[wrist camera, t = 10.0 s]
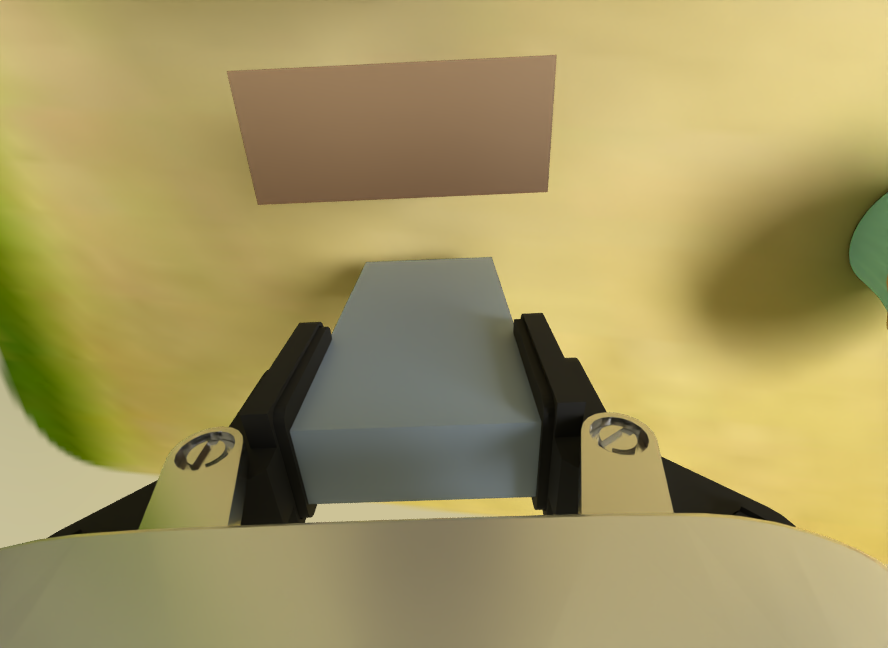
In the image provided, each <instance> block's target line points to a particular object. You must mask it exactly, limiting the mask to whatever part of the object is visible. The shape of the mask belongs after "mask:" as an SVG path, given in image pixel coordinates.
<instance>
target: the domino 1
mask: <svg viewBox="0 0 888 648" xmlns="http://www.w3.org/2000/svg"><path fill="white" fill-rule="evenodd" d="M555 71H556V55H547V56H527V57H506V58H486V59H466V60H445V61H425V62H404V63H384V64H364V65H343V66H323V67H303V68H282V69H262V70H241V71H227V74H228V79H229V83H230V87H231V91H232V96H233V100H234V104H235V108H236V113H237V117H238V121H239V126H240V130H241V134H242V138H243V143H244V147H245V151H246V155H247V160H248V164H249V168H250V173H251V177H252V181H253V185H254V190H255V194H256V198H257V202H258V205H264V204H286V203H309V202H332V201H354V200H377V199H399V198H422V197H445V196H467V195H490V194H512V193H535V192H548V179H549V163H550V148H551V132H552V117H553V101H554V86H555Z"/></svg>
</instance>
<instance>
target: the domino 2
mask: <svg viewBox="0 0 888 648" xmlns="http://www.w3.org/2000/svg"><path fill="white" fill-rule="evenodd" d="M513 327H514V323H513V320H512V317H511V314H510V311H509V308H508V305H507V302H506V299H505V296H504V293H503V290H502V287H501V284H500V281H499V278H498V275H497V272H496V269H495V266H494V263H493V260H492V257H483V258H458V259H433V260H408V261H383V262H366V264H365V266H364V268H363V270H362V272H361V274H360V276H359V278H358V280H357V282H356V285H355V287H354V289H353V291H352V293H351V295H350V297H349V299H348V301H347V303H346V305H345V308H344V310H343V312H342V314H341V316H340V318H339V320H338V322H337V324H336V326H335V328H334V331H333V333H332V335H331V336H332V341H331V343H330V345H329V348H328V350H327V352H326V354H325V356H324V358H323V361H322V363H321V365H320V367H319V369H318V371H317V373H316V376H315V378H314V380H313V382H312V384H311V386H310V389H309V391H308V393H307V395H306V397H305V399H304V401H303V404H302V406H301V408H300V410H299V412H298V414H297V417H296V419H295V421H294V423H293V425H292V427H291V429H290V434H291V438H292V442H293V445H294V449H295V453H296V457H297V461H298V464H299V468H300V472H301V476H302V480H303V484H304V487H305V491H306V495H307V499H308V503H309V504H327V503H328V504H329V503H360V502H390V501H421V500H452V499H482V498H513V497H536V487H537V474H538V461H539V448H540V435H541V419H540V416H539V413H538V410H537V407H536V403H535V400H534V397H533V394H532V391H531V388H530V384H529V381H528V378H527V375H526V372H525V368H524V365H523V362H522V359H521V356H520V353H519V349H518V346H517V343H516V340H515V337H514V334H513Z"/></svg>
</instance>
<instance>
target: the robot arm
mask: <svg viewBox="0 0 888 648" xmlns="http://www.w3.org/2000/svg"><path fill="white" fill-rule="evenodd" d="M513 334H514V337H515V340H516V343H517V346H518V349H519V353H520V356H521V359H522V362H523V365H524V368H525V372H526V375H527V378H528V381H529V384H530V388H531V391H532V394H533V397H534V400H535V403H536V407H537V410H538V413H539V416H540V419H541V435H540V448H539V461H538V474H537V487H536V497H532V501H533V506H534V508H535V510H543V514H544V515H534V516H499V517H463V518H433V519H405V520H404V519H403V520H373V521H346V522H316V523H305V520H306V518H308V517H312V516H313V515H314V512H315V509H316V506H317V504H309V503H308V499H307V495H306V491H305V487H304V484H303V480H302V476H301V472H300V468H299V464H298V461H297V457H296V453H295V449H294V445H293V442H292V438H291V434H290V429H291V427H292V425H293V423H294V421H295V419H296V417H297V414H298V412H299V410H300V408H301V406H302V404H303V401H304V399H305V397H306V395H307V393H308V391H309V389H310V386H311V384H312V382H313V380H314V378H315V376H316V373H317V371H318V369H319V367H320V365H321V363H322V361H323V358H324V356H325V354H326V352H327V350H328V348H329V345H330V343H331V341H332V336H331V331H330V328H329V327H323V324H322V323H321V322H309V323H299V324H298V326H297V327H296V329H295V330H294V332H293V334H292V335H291V337H290V338H289V340H288V341H287V343H286V344H285V346H284V347H283V349H282V350H281V352H280V354H279V355H278V357H277V358H276V360H275V361H274V363H273V364H272V366H271V367H270V369H269V370H267V371H266V372H265V373H264V374H263V376H262V377H261V379H260V380H259V382H258V384H257V385H256V387H255V388H254V390H253V391H252V393H251V394H250V396H249V397H248V399H247V400H246V402H245V403H244V405H243V406H242V408H241V409H240V411H239V412H238V414H237V415H236V417H235V418H234V420H233V421H232V423H231V425H230V426H229V427H214V428H209V429H206V430H202V431H200V432H197V433H195V434H193V435H191V436H189V437H187V438H186V439H184V440H183V441H181V442H180V443H179V444H177V445H176V446H175V447H174V448H173V449H172V450H171V452H170V453H169V455H168V457H167V458H166V461H165V463H164V466H163V469H162V471H161V474H160V476H159V479H158V480H157V481H155V482H153V483H151V484H149V485H147V486H145V487H143V488H142V489H139V490H137V491H135V492H134V493H132V494H130V495H128V496H126V497H124V498H122V499H120V500H118V501H116V502H114V503H112V504H110V505H108V506H107V507H104V508H102V509H100V510H99V511H97V512H95V513H93V514H91V515H89V516H87V517H85V518H83V519H81V520H79V521H77V522H75V523H74V524H71V525H70V526H68V527H66V528H64V529H62V530H60V531H58V532H56V533H55V534H53V535H51V536H50V537H48V538H46V539H40V540H35V541H30V542H26V543H22V544H17V545H13V546H9V547H4V548H0V648H888V566H886V565H885V564H883V563H882V562H880V561H879V560H877V559H875V558H874V557H872V556H870V555H868V554H866V553H864V552H862V551H860V550H858V549H857V548H855V547H852V546H850V545H847V544H845V543H842V542H840V541H837V540H835V539H832V538H829V537H826V536H823V535H820V534H818V533H815V532H811V531H807V530H804V529H800V528H796V527H795V525H793V524H792V523H791V522H790V521H788V520H787V519H786V518H785V517H784V516H782V515H781V514H779V513H777V512H775V511H774V510H772V509H770V508H769V507H767V506H765V505H762V504H760V503H758V502H756V501H754V500H752V499H750V498H748V497H746V496H743V495H741V494H739V493H737V492H735V491H733V490H731V489H729V488H727V487H724V486H722V485H720V484H718V483H716V482H714V481H712V480H710V479H708V478H705V477H703V476H701V475H699V474H697V473H695V472H693V471H691V470H689V469H686V468H684V467H682V466H680V465H678V464H676V463H674V462H672V461H670V460H667V459H665V458H663V457H661V454H660V450H659V446H658V441H657V439H656V436H655V434H654V432H653V431H652V430H651V429H650V428H649V427H648V426H647V425H645V424H644V423H642V422H641V421H639V420H638V419H635V418H633V417H630V416H628V415H624V414H620V413H610V412H606V410H605V408H604V406H603V405H602V403H601V401H600V399H599V397H598V395H597V393H596V391H595V390H594V388H593V386H592V384H591V382H590V380H589V378H588V377H587V375H586V373H585V371H584V369H583V367H582V365H581V364H580V362H579V360H578V359H577V358H564V356H563V354H562V352H561V350H560V348H559V346H558V343H557V341H556V339H555V337H554V335H553V333H552V331H551V329H550V327H549V325H548V323H547V321H546V319H545V317H544V315H543V313H531V314H522V315H521V319H514V327H513Z"/></svg>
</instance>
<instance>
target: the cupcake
mask: <svg viewBox="0 0 888 648" xmlns="http://www.w3.org/2000/svg"><path fill="white" fill-rule="evenodd" d="M849 259H850V264H851V267H852V269H853V271H854V273H855V274H856V275H857V277H858V278H859V279H860V280H862V281H863V282H864V283H865V284H866V285H867V286H868V287H869V288H870V289H871V290H872V291H873V292H874V293H875V294H876V295H877V296H878V297H879V299H880V300H881V301H882V303H883V305H884V306H885V308H886V310H887V329H888V193H886V194H885V195H884V196H882V197H881V198H880V199H879V200H878V201H877V202H876V203H875V204H874V205H873V206H872V207H871V208H870V209H869V210H868V211H867V212H866V214H865V215H864V216H863V218H862V219H861V221H860V222H859V224H858V226H857V228H856V230H855V232H854V234H853V237H852V240H851V243H850V249H849Z"/></svg>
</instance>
